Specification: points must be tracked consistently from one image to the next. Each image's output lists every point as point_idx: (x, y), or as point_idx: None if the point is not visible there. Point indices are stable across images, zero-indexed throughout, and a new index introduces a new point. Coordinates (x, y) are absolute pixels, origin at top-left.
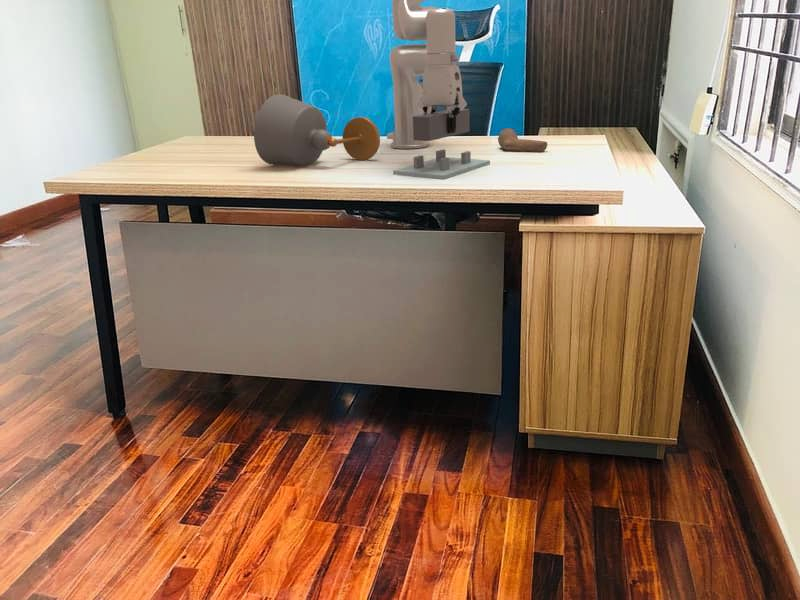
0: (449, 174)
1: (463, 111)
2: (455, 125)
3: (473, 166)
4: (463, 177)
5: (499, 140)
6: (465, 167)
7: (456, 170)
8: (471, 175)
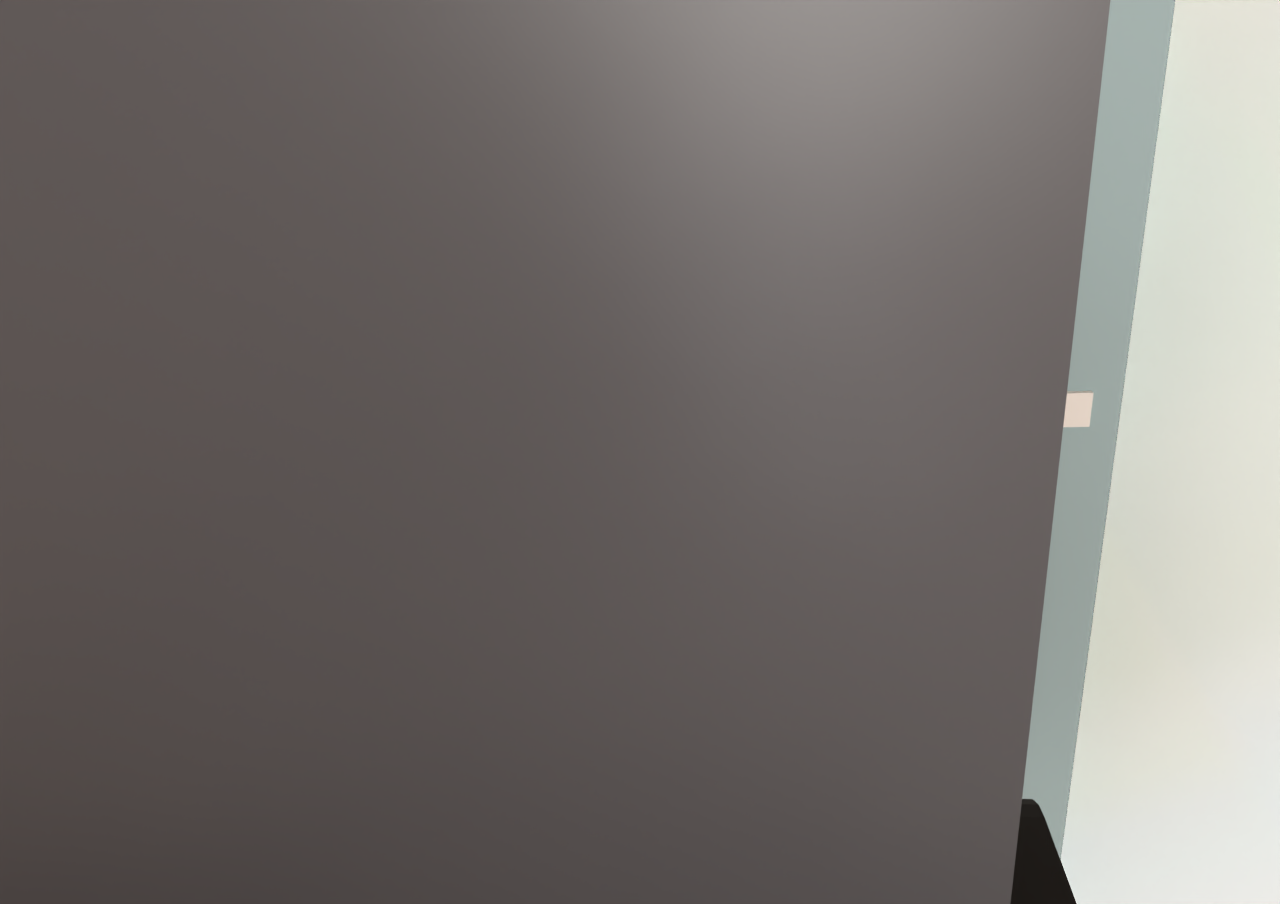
0: (1060, 833)
1: (1075, 109)
2: (1058, 895)
3: (1140, 228)
4: (1219, 735)
5: None
6: (1084, 427)
7: (1053, 652)
8: (1274, 597)
